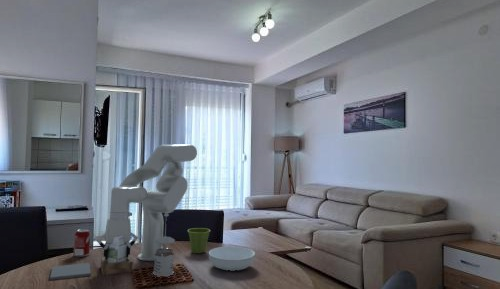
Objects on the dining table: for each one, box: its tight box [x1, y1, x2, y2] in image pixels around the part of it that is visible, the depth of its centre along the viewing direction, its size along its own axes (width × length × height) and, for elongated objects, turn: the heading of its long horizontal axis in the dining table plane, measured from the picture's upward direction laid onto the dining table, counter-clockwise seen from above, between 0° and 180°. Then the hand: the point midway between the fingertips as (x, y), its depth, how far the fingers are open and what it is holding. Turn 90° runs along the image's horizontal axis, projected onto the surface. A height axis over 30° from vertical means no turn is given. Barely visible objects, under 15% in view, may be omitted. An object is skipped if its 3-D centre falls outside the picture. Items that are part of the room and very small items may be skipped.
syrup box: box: [107, 236, 127, 264], centre depth 142 cm, size 6×6×14 cm
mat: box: [49, 262, 92, 281], centre depth 136 cm, size 14×14×1 cm
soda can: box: [73, 228, 92, 258], centre depth 159 cm, size 7×7×12 cm
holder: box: [100, 255, 134, 276], centre depth 142 cm, size 11×11×4 cm
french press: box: [152, 213, 176, 276], centre depth 140 cm, size 10×12×25 cm
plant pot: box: [187, 227, 211, 254], centre depth 173 cm, size 12×12×11 cm
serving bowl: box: [208, 246, 256, 272], centre depth 150 cm, size 21×21×7 cm
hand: (116, 257), depth 142 cm, fingers closed on syrup box, 7 cm apart
